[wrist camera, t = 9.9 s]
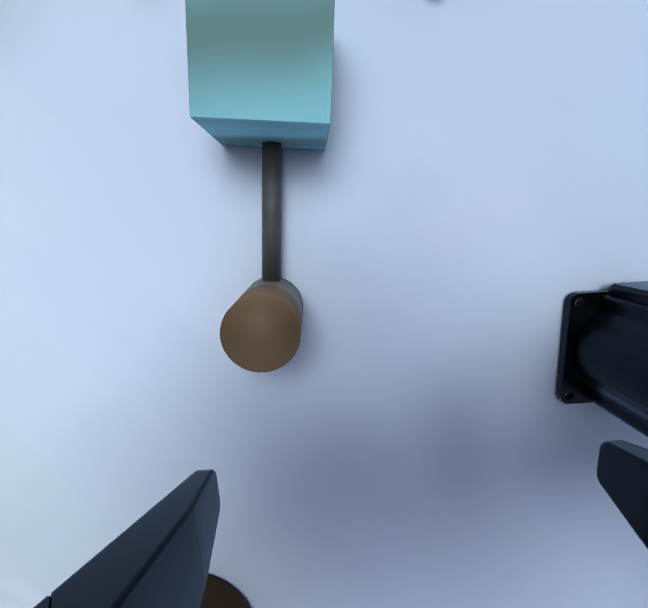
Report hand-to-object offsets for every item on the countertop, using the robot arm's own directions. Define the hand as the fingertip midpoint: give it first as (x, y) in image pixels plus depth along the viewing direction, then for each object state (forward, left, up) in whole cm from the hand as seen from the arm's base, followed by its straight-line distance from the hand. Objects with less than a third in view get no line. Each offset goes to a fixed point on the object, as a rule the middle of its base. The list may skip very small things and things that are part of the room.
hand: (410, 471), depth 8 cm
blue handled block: (+7, +4, -12) cm, 14 cm away
